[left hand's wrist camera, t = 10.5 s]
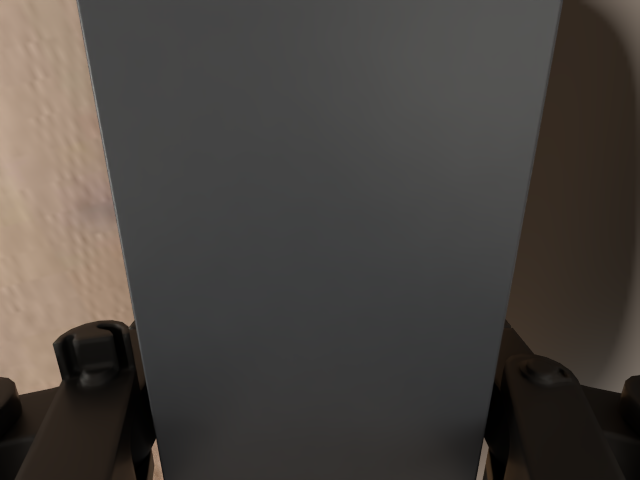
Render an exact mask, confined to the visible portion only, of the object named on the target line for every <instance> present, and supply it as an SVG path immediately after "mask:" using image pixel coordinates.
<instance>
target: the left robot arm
mask: <svg viewBox="0 0 640 480" xmlns="http://www.w3.org/2000/svg"><path fill="white" fill-rule="evenodd" d="M53 347H54V351H55V354H56V358H57V362H58V365H59V369H60V373H61V377H62V382H61V384H60V386H59V387H56V388H52V389H47V390H42V391H37V392H32V393H27V394H23V395H18V392H17V389H16V385H15V383H14V382H13V381H12V380H10V379H9V378H3V377H0V480H153V472H154V460H153V454H152V449H151V448H152V446H153V444H154V442H155V439H156V434H155V429H154V423H153V418H152V412H151V407H150V401H149V396H148V390H147V385H146V379H145V374H144V368H143V363H142V357H141V352H140V346H139V341H138V336H137V330H136V325H135V321H134V322H133V323H132V324H131V325H130V327H128V326H127V325H125V324H124V323H123V322H118V321H114V320H107V321H96V322H92V323H87V324H84V325H81V326H78V327H76V328H73V329H71V330H69V331H68V332H66V333H64V334H63V335H61V336H60V337H59V338H58V339H57V340H56V341H55V342H54V343H53ZM484 438H485V440H486V442H487V444H488V446H489V449H488V454H487V460H486V465H485V470H484V476H483V480H640V375H638V376H631V377H630V378H629V379H627V380H626V381H625V384H624V387H623V391H622V394H621V393H616V392H612V391H607V390H602V389H597V388H592V387H587V386H584V385H580V383H579V381H578V379H577V378H576V377H575V376H574V374H573V373H572V372H571V371H570V370H569V369H567V368H566V367H564V366H563V365H562V364H560V363H558V362H556V361H554V360H551V359H549V358H547V357H543V356H539V355H535V354H534V353H533V352H532V351H531V350H530V349H529V347H528V346H527V345H526V344H525V342H524V341H523V340H522V339H521V338H520V336H519V335H518V334H517V333H516V331H515V330H514V329H513V328H511V325H510V324H509V323H508V322H507V321H506V319H505V323H504V328H503V334H502V339H501V345H500V350H499V356H498V361H497V367H496V372H495V378H494V383H493V389H492V395H491V400H490V406H489V411H488V417H487V422H486V428H485V433H484Z"/></svg>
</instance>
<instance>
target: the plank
mask: <svg viewBox="0 0 640 480" xmlns="http://www.w3.org/2000/svg"><path fill="white" fill-rule="evenodd" d="M76 1H77V6H78V12H79V17H80V23H81V28H82V34H83V39H84V45H85V50H86V56H87V61H88V67H89V72H90V78H91V83H92V89H93V94H94V100H95V105H96V111H97V116H98V122H99V127H100V133H101V138H102V143H103V149H104V154H105V160H106V165H107V171H108V176H109V182H110V187H111V193H112V198H113V204H114V209H115V215H116V220H117V226H118V231H119V237H120V242H121V248H122V253H123V259H124V264H125V270H126V275H127V281H128V286H129V292H130V297H131V303H132V308H133V314H134V319H135V325H136V330H137V336H138V341H139V346H140V352H141V357H142V363H143V368H144V374H145V379H146V385H147V390H148V396H149V401H150V407H151V412H152V418H153V423H154V429H155V434H156V440H157V445H158V451H159V456H160V462H161V467H162V473H163V478H164V480H476V477H477V472H478V466H479V461H480V455H481V449H482V444H483V439H484V433H485V428H486V422H487V417H488V411H489V406H490V400H491V395H492V389H493V383H494V378H495V372H496V367H497V361H498V356H499V350H500V345H501V339H502V334H503V328H504V323H505V317H506V312H507V306H508V301H509V295H510V290H511V284H512V279H513V273H514V268H515V262H516V257H517V251H518V246H519V240H520V235H521V229H522V223H523V218H524V213H525V207H526V201H527V196H528V190H529V185H530V180H531V174H532V168H533V163H534V157H535V152H536V146H537V141H538V135H539V130H540V124H541V119H542V113H543V108H544V102H545V97H546V91H547V86H548V80H549V75H550V69H551V64H552V58H553V53H554V47H555V42H556V36H557V31H558V25H559V20H560V14H561V8H562V3H563V0H76Z"/></svg>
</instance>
